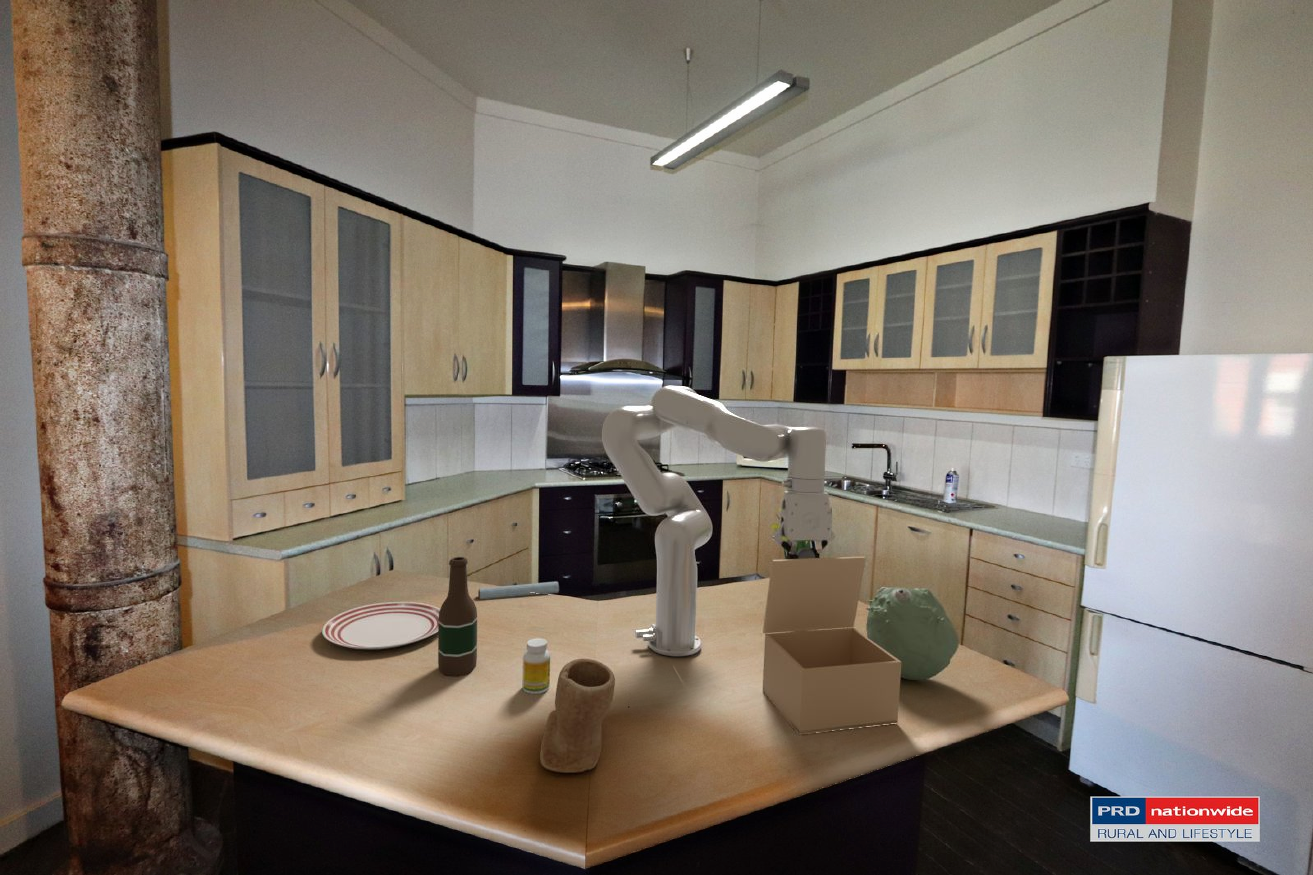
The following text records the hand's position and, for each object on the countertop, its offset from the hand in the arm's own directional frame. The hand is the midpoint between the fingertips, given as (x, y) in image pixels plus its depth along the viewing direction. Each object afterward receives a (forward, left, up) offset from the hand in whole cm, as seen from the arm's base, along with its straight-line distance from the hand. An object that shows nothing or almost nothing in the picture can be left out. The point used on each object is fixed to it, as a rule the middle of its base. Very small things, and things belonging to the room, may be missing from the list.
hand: (802, 570), depth 126 cm
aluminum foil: (-58, +58, -24) cm, 85 cm away
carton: (0, -13, -23) cm, 27 cm away
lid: (0, -5, -11) cm, 12 cm away
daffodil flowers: (+15, +30, -24) cm, 41 cm away
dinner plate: (-89, +37, -24) cm, 99 cm away
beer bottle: (-71, +15, -24) cm, 76 cm away
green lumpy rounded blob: (+24, -4, -24) cm, 34 cm away
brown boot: (-49, -18, -24) cm, 57 cm away
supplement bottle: (-55, +4, -24) cm, 60 cm away
